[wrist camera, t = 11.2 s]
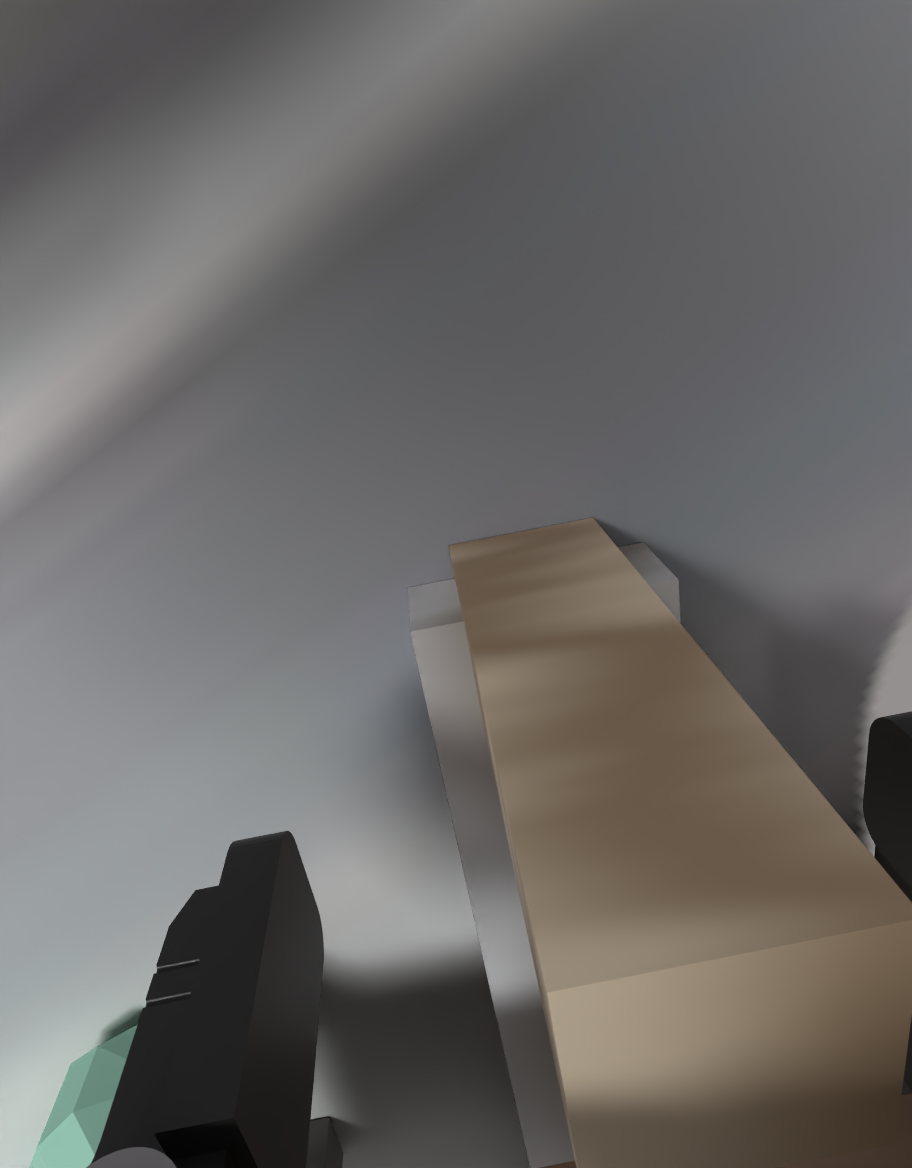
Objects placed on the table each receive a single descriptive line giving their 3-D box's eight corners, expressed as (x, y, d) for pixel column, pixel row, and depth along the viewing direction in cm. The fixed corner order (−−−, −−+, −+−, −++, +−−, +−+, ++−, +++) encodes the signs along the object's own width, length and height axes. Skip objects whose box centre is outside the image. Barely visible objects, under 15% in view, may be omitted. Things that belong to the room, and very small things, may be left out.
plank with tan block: (545, 1218, 25) (637, 1773, 16) (399, 554, 15) (421, 1018, 6) (689, 1189, 25) (864, 1726, 16) (640, 508, 15) (1049, 892, 6)
